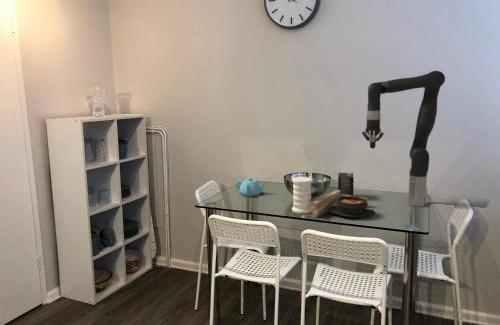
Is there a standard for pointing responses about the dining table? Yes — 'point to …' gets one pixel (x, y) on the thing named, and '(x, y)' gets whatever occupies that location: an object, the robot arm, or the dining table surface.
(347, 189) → the tampon box
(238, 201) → the dining table surface
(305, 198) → the decorative container
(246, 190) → the teapot
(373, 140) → the robot arm
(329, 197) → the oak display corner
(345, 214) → the casserole
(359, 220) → the dining table surface
